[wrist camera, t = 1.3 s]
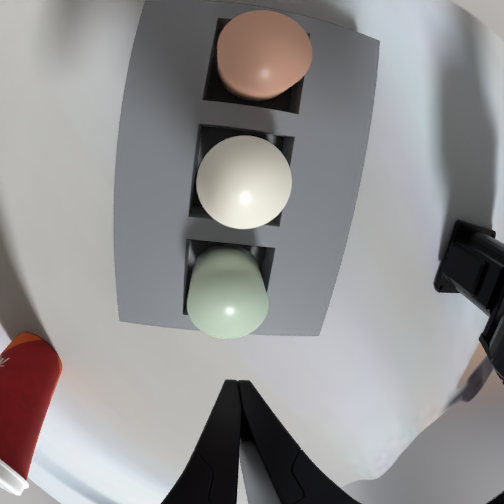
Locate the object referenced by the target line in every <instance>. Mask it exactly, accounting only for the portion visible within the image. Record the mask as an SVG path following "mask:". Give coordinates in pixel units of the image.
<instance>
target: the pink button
mask: <svg viewBox="0 0 504 504" xmlns="http://www.w3.org/2000/svg"><path fill="white" fill-rule="evenodd" d="M217 60H218V74H219V77H220V80H221V82H222V84H223V85H224V86H225V88H226V89H227V90H228V91H229V92H231V93H232V94H233V95H235V96H237V97H239V98H241V99H244V100H248V101H255V102H256V101H266V100H270V99H272V98H275V97H276V96H278V95H280V94H281V93H282V92H284V91H285V90H287V89H288V88H289V87H291V86H292V85H294V84H295V83H296V82H298V81H299V80H300V79H301V78H302V77H303V76H304V75H305V74H306V73H307V71H308V69H309V67H310V65H311V61H312V45H311V42H310V39H309V37H308V35H307V33H306V32H305V31H304V29H303V28H302V27H301V26H300V25H299V24H298V23H297V22H296V21H294V20H293V19H291V18H290V17H288V16H286V15H284V14H281V13H278V12H274V11H268V10H256V11H250V12H246V13H243V14H241V15H239V16H237V17H235V18H234V19H232V20H231V21H230V22H229V23H228V24H227V25H226V26H225V27H224V28H223V30H222V31H221V34H220V36H219V39H218V43H217Z"/></svg>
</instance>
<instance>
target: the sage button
mask: <svg viewBox="0 0 504 504" xmlns="http://www.w3.org/2000/svg"><path fill="white" fill-rule="evenodd" d="M268 306H269V302H268V296H267V293H266V290H265V286H264V283H263V279H262V276H261V273H260V269H259V266H258V263H257V261H256V259H255V258H254V256H253V255H252V254H251V253H250V252H249V251H247V250H246V249H244V248H243V247H240V246H238V245H234V244H219V245H215V246H212V247H210V248H208V249H206V250H205V251H204V252H202V253H201V254H200V255H199V257H198V258H197V260H196V261H195V264H194V266H193V271H192V276H191V282H190V287H189V293H188V299H187V311H188V314H189V317H190V319H191V321H192V322H193V324H194V325H195V326H196V327H197V328H198V329H199V330H201V331H202V332H204V333H205V334H207V335H209V336H212V337H215V338H220V339H234V338H239V337H243V336H245V335H248V334H249V333H251V332H253V331H254V330H256V329H257V328H258V327H259V326H260V325H261V324H262V322H263V321H264V319H265V317H266V315H267V312H268Z"/></svg>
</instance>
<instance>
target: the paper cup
mask: <svg viewBox="0 0 504 504" xmlns="http://www.w3.org/2000/svg"><path fill="white" fill-rule="evenodd" d="M61 371H62V364H61V361H60V358H59V356H58V355H57V353H56V352H55V350H54V349H53V348H52V347H51V346H50V345H49V344H48V343H47V342H46V341H44V340H43V339H42V338H40V337H39V336H37V335H35V334H32V333H28V332H23V333H21V334H19V335H18V336H17V337H16V338H15V339H14V340H13V341H12V342H11V343H10V344H9V345H8V346H7V348H6V349H5V350H4V351H3V352H2V353H1V355H0V487H1V488H2V489H4V490H6V491H8V492H10V493H13V494H14V495H17V496H19V495H21V493H22V491H23V490H24V488H28V487H29V484H28V482H27V481H26V479H27V476H28V472H29V468H30V464H31V460H32V456H33V453H34V449H35V446H36V443H37V439H38V436H39V433H40V430H41V427H42V424H43V421H44V418H45V415H46V412H47V409H48V407H49V404H50V401H51V398H52V396H53V393H54V390H55V388H56V385H57V382H58V380H59V377H60V374H61Z"/></svg>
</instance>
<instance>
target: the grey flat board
mask: <svg viewBox="0 0 504 504" xmlns="http://www.w3.org/2000/svg"><path fill="white" fill-rule="evenodd" d="M256 10H268V11H274V12H278V13H281V14H284V15H286V16H288V17H290V18H291V19H293V20H294V21H296V22H297V23H298V24H299V25H300V26H301V27H302V28H303V29H304V31H305V32H306V33H307V35H308V37H309V39H310V42H311V45H312V61H311V65H310V67H309V69H308V71H307V73H306V74H305V75H304V76H303V77H302V78H301V79H300V80H299V81H298V82H296V83H295V84H294V85H293V86H292V92H291V99H290V105H289V111H288V112H284V111H278V110H273V109H267V108H261V107H255V106H248V105H241V104H233V103H225V102H216V101H206V97H207V91H208V85H209V79H210V73H211V68H212V62H213V57H214V52H215V47H216V42H217V37H218V33H220V34H221V31H222V30H223V28H224V27H225V26H226V25H227V24H228V23H229V22H230V21H231V20H232V19H234V18H235V17H237V16H239V15H241V14H243V13H246V12H250V11H256ZM379 46H380V41H379V40H376V39H374V38H371V37H369V36H366V35H364V34H361V33H358V32H356V31H353V30H350V29H347V28H344V27H341V26H338V25H335V24H332V23H329V22H325V21H322V20H319V19H315V18H311V17H308V16H304V15H300V14H295V13H291V12H287V11H282V10H277V9H272V8H266V7H260V6H254V5H247V4H240V3H231V2H220V1H207V0H147V1H145V4H144V7H143V11H142V14H141V18H140V21H139V25H138V29H137V32H136V36H135V41H134V45H133V49H132V53H131V58H130V63H129V68H128V73H127V78H126V84H125V90H124V96H123V102H122V109H121V117H120V125H119V133H118V143H117V155H116V169H115V188H114V256H115V275H116V289H117V301H118V311H119V320H120V321H122V322H129V323H136V324H143V325H151V326H159V327H168V328H177V329H187V330H198V331H201V330H199V329H198V328H197V327H196V326H195V325H194V324H193V322H192V321H191V319H190V317H189V314H188V311H187V299H188V294H186V290H187V272H188V256H189V242H190V239H193V240H203V241H213V242H223V243H233V244H243V245H253V246H263V247H266V250H265V256H264V261H263V267H262V273H261V276H262V279H263V283H264V286H265V290H266V293H267V296H268V302H269V306H268V312H267V315H266V317H265V319H264V321H263V322H262V324H261V325H260V326H259V327H258V328H257V329H256V330H254V331H253V332H251V333H249V334H256V335H281V336H319V334H320V331H321V328H322V325H323V322H324V319H325V315H326V312H327V309H328V306H329V303H330V299H331V296H332V293H333V289H334V286H335V283H336V279H337V276H338V272H339V268H340V265H341V261H342V257H343V254H344V250H345V246H346V242H347V238H348V234H349V230H350V226H351V222H352V218H353V213H354V209H355V205H356V200H357V195H358V191H359V186H360V181H361V176H362V171H363V166H364V160H365V155H366V149H367V144H368V138H369V131H370V125H371V118H372V111H373V104H374V96H375V88H376V79H377V69H378V58H379ZM202 126H209V127H218V128H227V129H235V130H243V131H250V132H257V133H263V134H269V135H275V136H281V137H284V143H283V149H282V154H283V155H284V157H285V158H286V160H287V162H288V164H289V167H290V171H291V176H292V187H291V193H290V196H289V199H288V201H287V203H286V205H285V207H284V208H283V209H282V211H281V212H280V213H279V214H278V215H277V216H276V217H275V218H274V219H273V220H271V221H269V222H268V223H266V224H264V225H262V226H259V227H256V228H251V229H237V228H231V227H228V226H225V225H223V224H221V223H219V222H218V221H216V220H215V219H214V218H212V217H211V216H210V215H209V214H208V213H207V212H206V210H205V209H204V207H197V206H193V196H194V187H195V178H196V169H197V160H198V152H199V145H200V137H201V130H202Z"/></svg>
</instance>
